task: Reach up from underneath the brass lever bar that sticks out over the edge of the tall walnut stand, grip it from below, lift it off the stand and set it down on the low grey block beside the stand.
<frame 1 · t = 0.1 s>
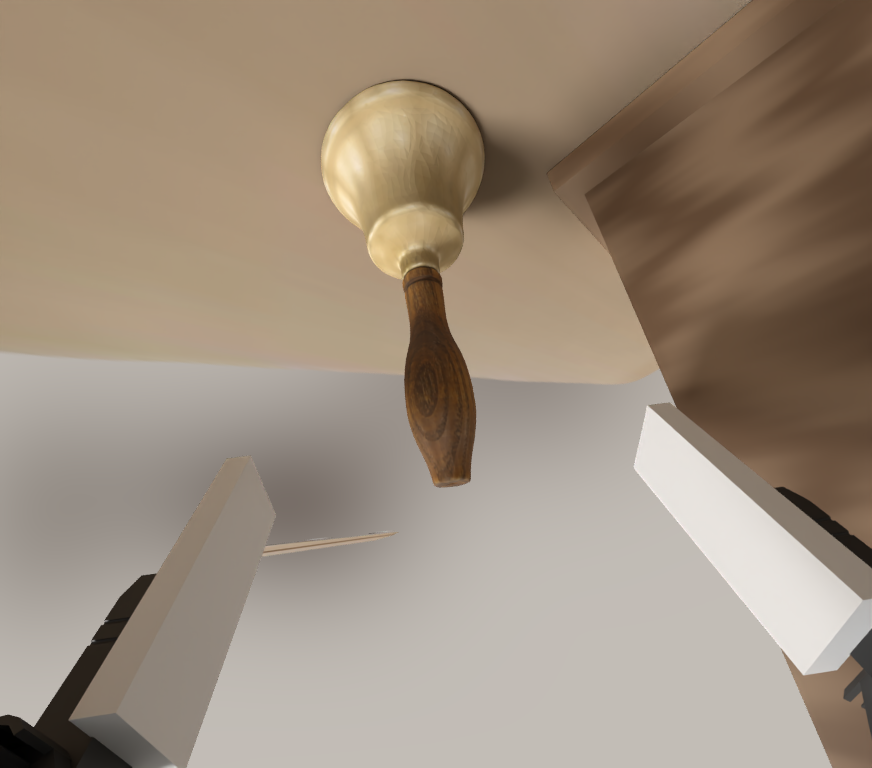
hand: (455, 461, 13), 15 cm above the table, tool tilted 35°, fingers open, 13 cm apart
hand bell: (404, 169, 19), on the table
walnut stand: (788, 96, 18), on the table
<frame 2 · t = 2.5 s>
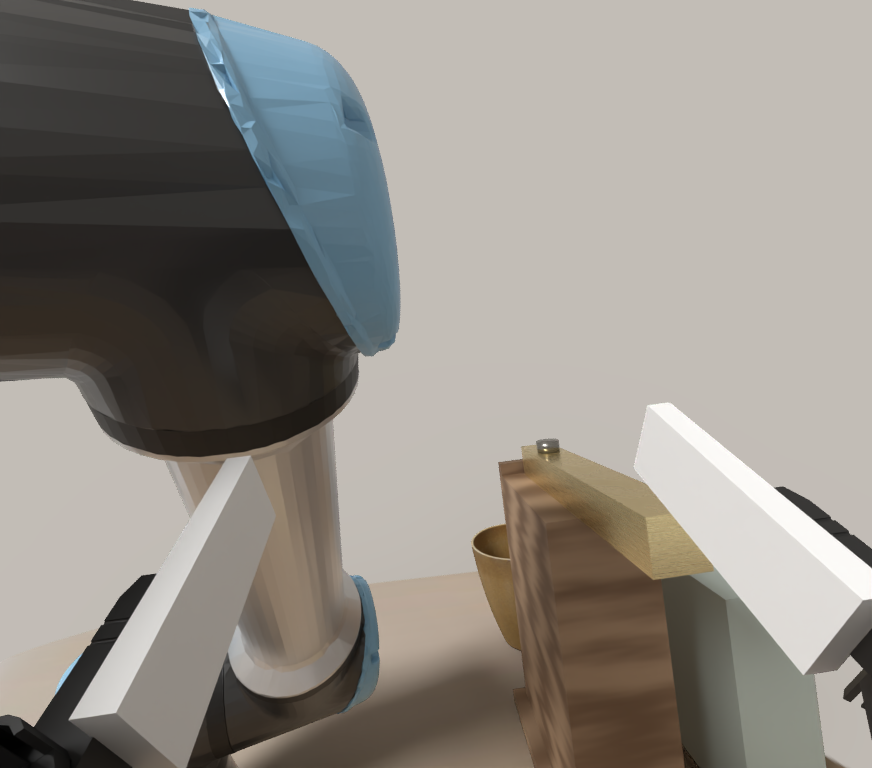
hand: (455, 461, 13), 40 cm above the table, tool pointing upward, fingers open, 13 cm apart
brass bar: (583, 504, 34), point 30 cm above the table, touching walnut stand
plant pot: (528, 636, 61), on the table
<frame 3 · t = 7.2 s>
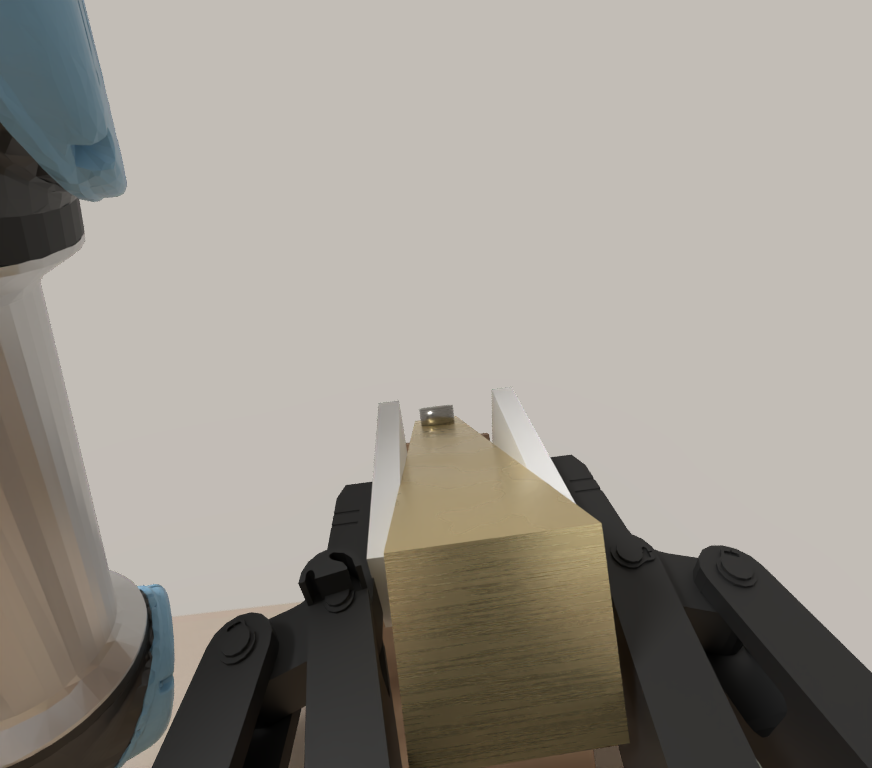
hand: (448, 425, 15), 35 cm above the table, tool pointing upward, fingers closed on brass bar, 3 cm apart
brass bar: (453, 506, 19), point 30 cm above the table, touching gripper, walnut stand
when the fingers open (27 cm above the table, at t = 12.7 s): brass bar drops 2 cm, resting on grey block.
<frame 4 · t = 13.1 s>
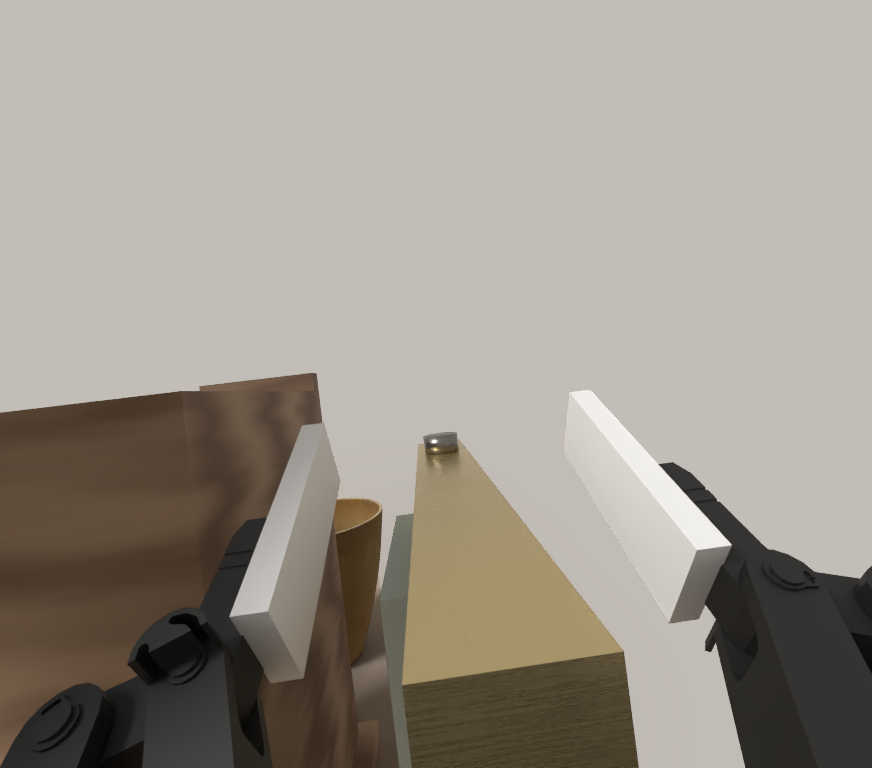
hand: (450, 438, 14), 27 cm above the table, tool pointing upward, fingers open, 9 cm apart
brass bar: (459, 546, 19), point 21 cm above the table, touching grey block
plant pot: (334, 653, 44), on the table
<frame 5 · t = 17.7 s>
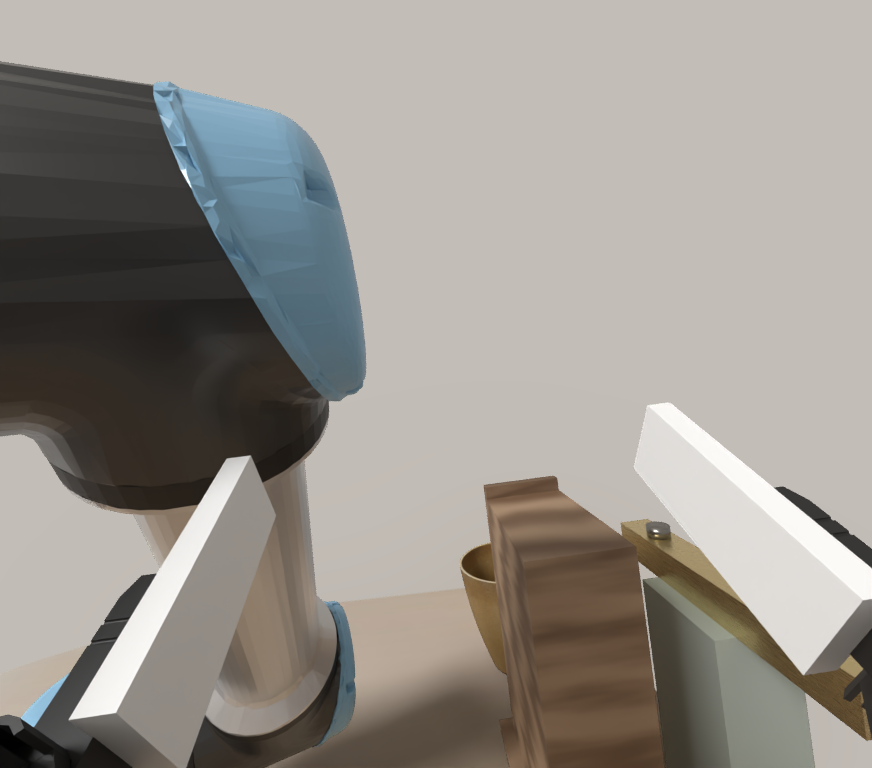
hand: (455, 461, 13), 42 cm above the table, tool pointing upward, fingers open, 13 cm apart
brass bar: (718, 607, 35), point 21 cm above the table, touching grey block
plant pot: (518, 660, 60), on the table
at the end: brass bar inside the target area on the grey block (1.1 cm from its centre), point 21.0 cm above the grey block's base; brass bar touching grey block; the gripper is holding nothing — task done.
